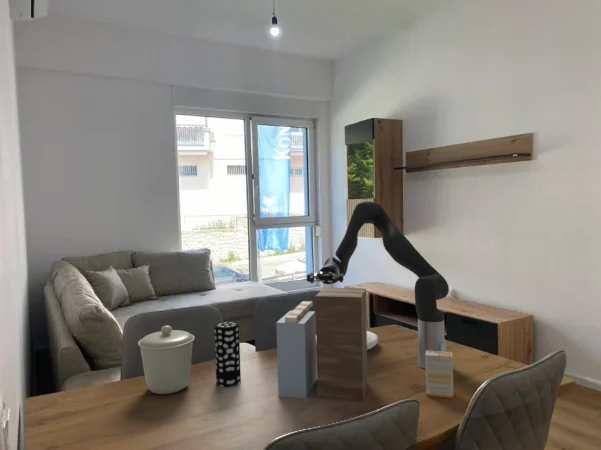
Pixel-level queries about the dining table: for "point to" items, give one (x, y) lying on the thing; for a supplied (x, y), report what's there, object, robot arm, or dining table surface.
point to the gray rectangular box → (296, 356)
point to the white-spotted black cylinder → (227, 354)
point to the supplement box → (439, 373)
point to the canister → (167, 360)
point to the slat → (298, 312)
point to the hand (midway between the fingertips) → (322, 280)
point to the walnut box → (341, 343)
